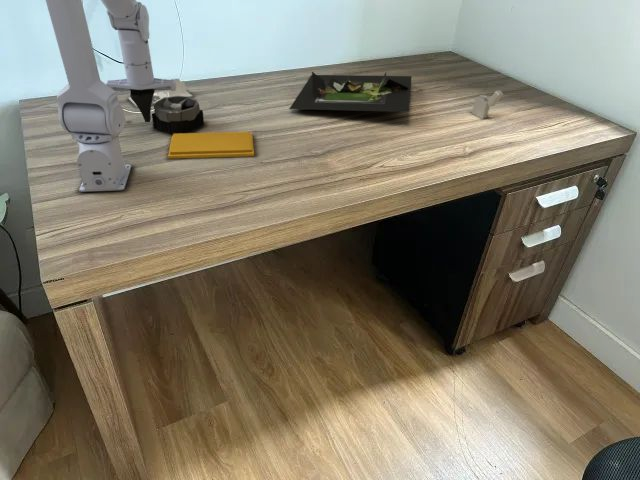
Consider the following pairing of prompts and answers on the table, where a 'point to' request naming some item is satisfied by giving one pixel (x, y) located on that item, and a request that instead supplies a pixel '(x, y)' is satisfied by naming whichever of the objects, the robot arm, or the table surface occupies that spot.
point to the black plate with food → (355, 93)
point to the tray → (211, 145)
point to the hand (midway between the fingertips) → (147, 120)
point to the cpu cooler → (177, 114)
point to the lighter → (485, 104)
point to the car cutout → (169, 92)
